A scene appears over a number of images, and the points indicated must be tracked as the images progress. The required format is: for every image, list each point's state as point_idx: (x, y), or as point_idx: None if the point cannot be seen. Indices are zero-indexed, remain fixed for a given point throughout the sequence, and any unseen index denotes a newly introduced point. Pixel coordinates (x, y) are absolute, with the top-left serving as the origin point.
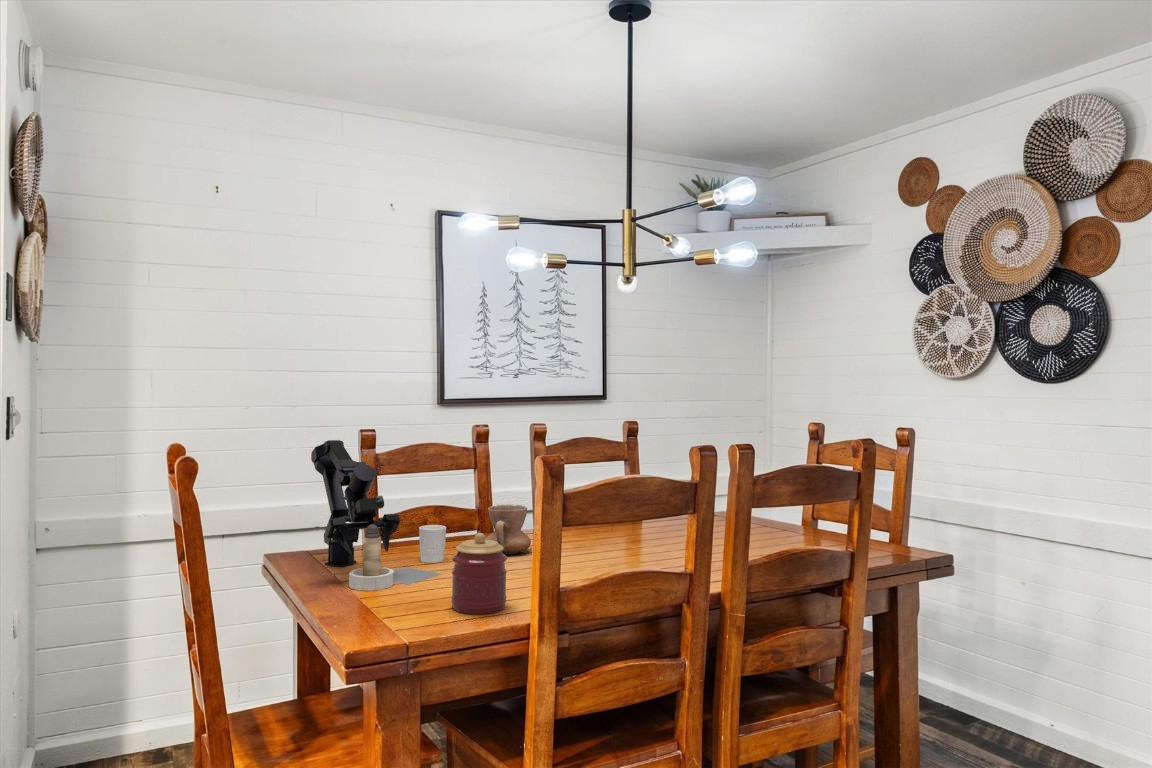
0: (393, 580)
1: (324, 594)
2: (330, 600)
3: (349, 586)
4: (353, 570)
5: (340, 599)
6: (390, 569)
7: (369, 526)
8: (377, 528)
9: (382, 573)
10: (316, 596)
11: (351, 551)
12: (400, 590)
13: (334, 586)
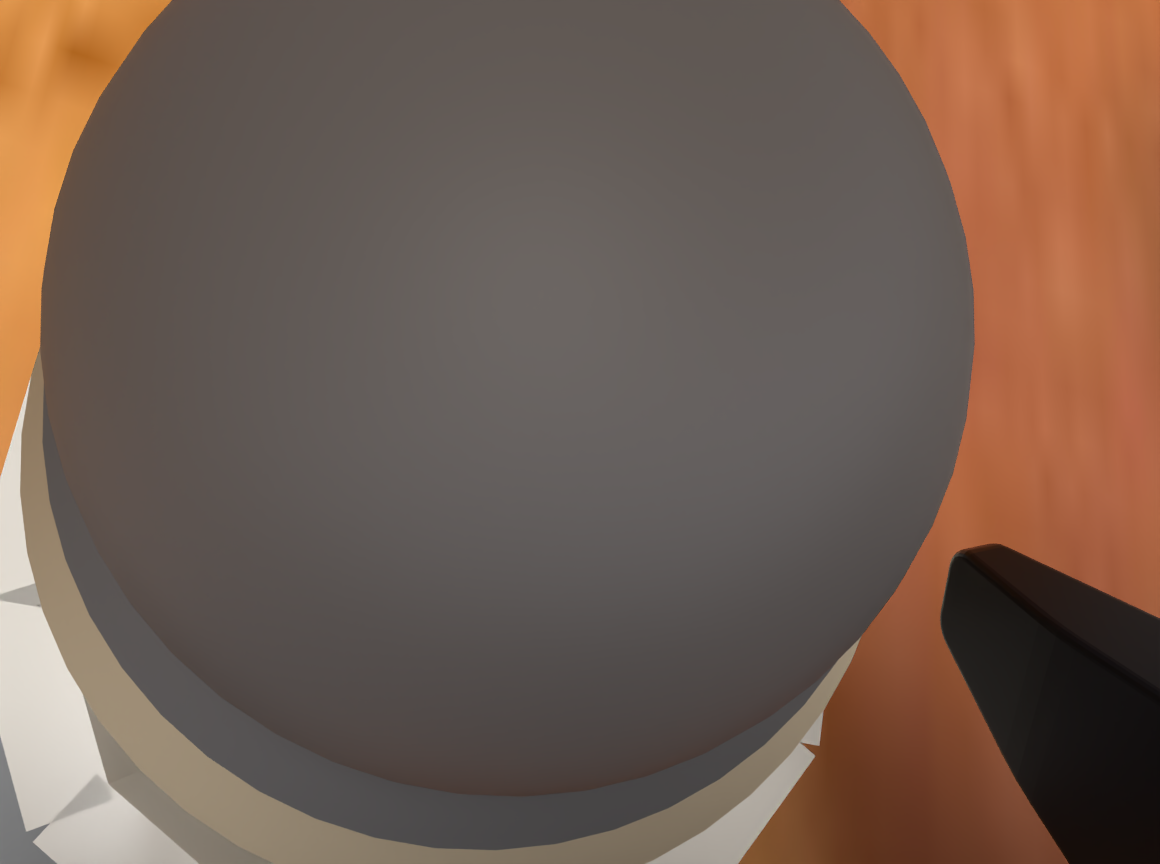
0: (7, 775)
1: (1066, 326)
2: (987, 39)
3: None
4: (758, 794)
5: (877, 39)
6: (14, 679)
7: (860, 45)
8: (135, 62)
9: (184, 812)
10: (1151, 265)
11: (1033, 564)
12: (37, 192)
13: (954, 716)
